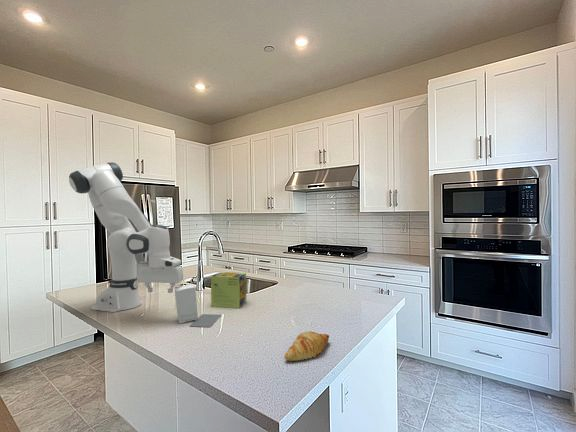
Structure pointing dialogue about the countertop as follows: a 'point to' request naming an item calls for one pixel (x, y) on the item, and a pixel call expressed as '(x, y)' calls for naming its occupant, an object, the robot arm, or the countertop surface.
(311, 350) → the croissant
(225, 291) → the protein box
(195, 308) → the skincare box
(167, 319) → the countertop surface
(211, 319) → the mat
